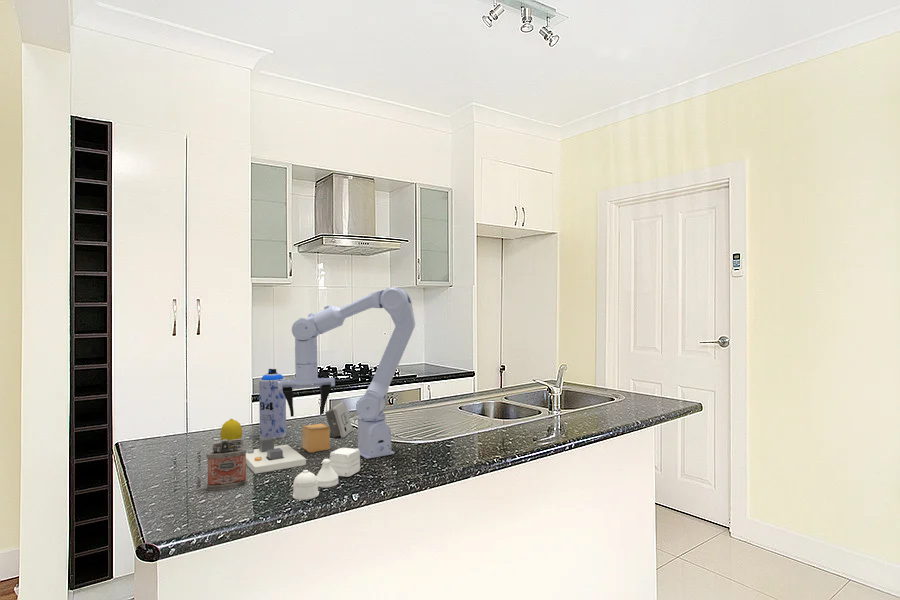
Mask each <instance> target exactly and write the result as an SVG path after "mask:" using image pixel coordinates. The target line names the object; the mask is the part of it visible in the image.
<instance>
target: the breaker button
mask: <svg viewBox="0 0 900 600" xmlns="http://www.w3.org/2000/svg"><path fill="white" fill-rule="evenodd" d="M282 458H283V451H282V450H281V449H280V448H276V449H270V450H267V459H268V460H269V461H270V460H276V459H282Z"/></svg>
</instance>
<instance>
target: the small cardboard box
mask: <svg viewBox="0 0 900 600" xmlns="http://www.w3.org/2000/svg"><path fill="white" fill-rule="evenodd" d="M330 434H331V431H330V427H329V425H327V424H325V423H323V422H320V423H314V424H307V425H302V448H303V449H304V450H305V451H307V452H308V453H315V452H321V451H327V450H330V448H331V445H330V444H331V439H330V438H331V437H330V436H331V435H330Z"/></svg>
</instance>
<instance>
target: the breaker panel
mask: <svg viewBox="0 0 900 600" xmlns="http://www.w3.org/2000/svg"><path fill="white" fill-rule="evenodd" d="M276 448H280V449H281V450H282V451H283V458H282V459H276V460H270V461H269V460H268V459H267V450H270V449H276ZM306 465H307V459H306V458H305V456H303V455H302V454H300V453H299V452H298V451H297V450H295V449H293V448H292V447H291V446H290V445H288V444H280V445H275V439H273V438H272V437H264V438H259V439H258V448H255V449H247V453H246V466H247V467H248V468H249V469H250V470H251V471H252V472H253V473H254V474H256V475H257V474H261V473H268V472H273V471H278V470H284V469H290V468H297V467H303V466H306Z"/></svg>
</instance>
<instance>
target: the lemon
mask: <svg viewBox="0 0 900 600" xmlns="http://www.w3.org/2000/svg"><path fill="white" fill-rule="evenodd" d="M242 437H243V428H242V425H241V424H240V422H239V421H238V420H235V419H233V418H230V419H229V420H227V421H225V422H224V423H223V424H222V426H221V429H220V441H222V440H223V439H227V440H228V441H231V440H233V439H243V438H242ZM230 447H231V449H233V447H234V446H230Z"/></svg>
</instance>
